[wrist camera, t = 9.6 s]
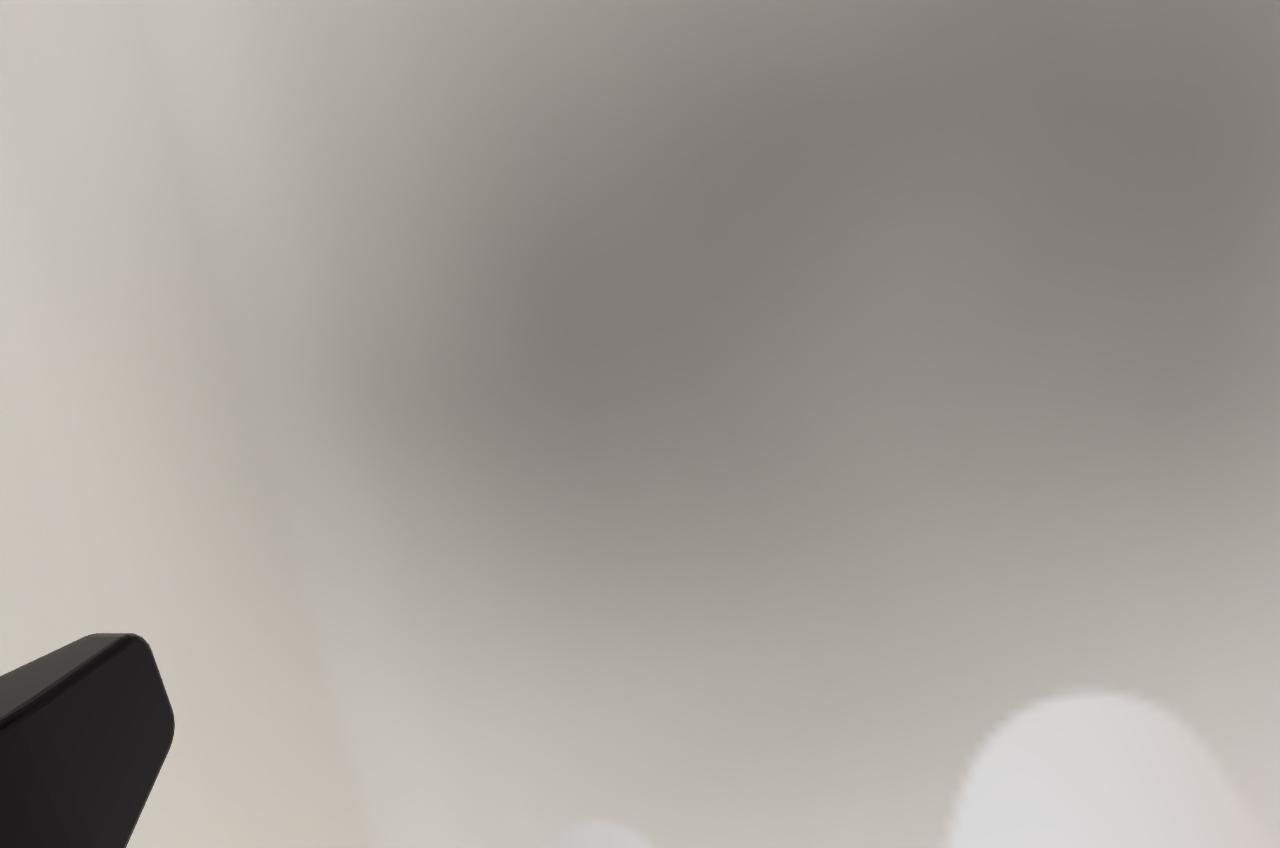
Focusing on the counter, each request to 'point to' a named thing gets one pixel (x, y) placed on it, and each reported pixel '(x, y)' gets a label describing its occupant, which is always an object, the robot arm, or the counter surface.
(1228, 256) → the counter surface
